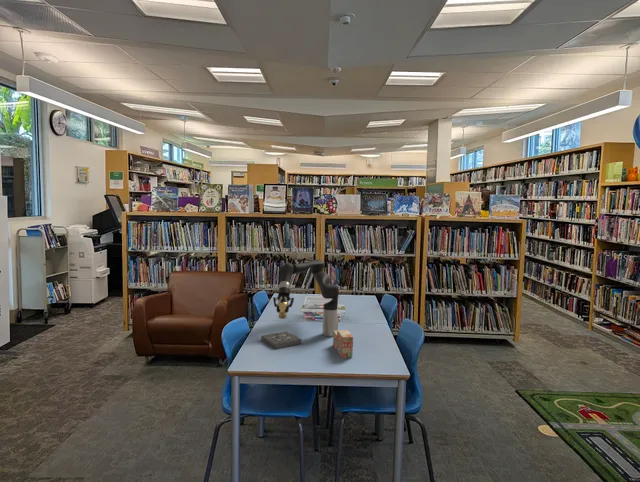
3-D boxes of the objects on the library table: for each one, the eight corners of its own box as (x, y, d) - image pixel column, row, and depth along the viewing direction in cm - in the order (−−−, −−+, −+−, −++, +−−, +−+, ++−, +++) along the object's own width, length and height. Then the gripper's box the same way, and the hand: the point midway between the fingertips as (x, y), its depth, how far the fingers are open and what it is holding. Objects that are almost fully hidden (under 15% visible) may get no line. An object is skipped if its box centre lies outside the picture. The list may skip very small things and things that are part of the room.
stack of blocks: (332, 345, 248) (333, 325, 247) (342, 345, 249) (343, 325, 248) (341, 358, 227) (342, 336, 226) (352, 357, 228) (353, 336, 227)
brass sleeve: (284, 316, 266) (284, 300, 265) (287, 318, 262) (288, 302, 261) (277, 317, 263) (277, 301, 262) (281, 319, 259) (281, 303, 258)
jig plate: (286, 335, 263) (286, 331, 262) (301, 343, 248) (301, 339, 248) (261, 340, 252) (261, 335, 252) (275, 349, 238) (275, 344, 237)
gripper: (295, 292, 274) (293, 315, 263) (274, 292, 274) (271, 314, 263) (295, 286, 268) (293, 309, 257) (273, 286, 268) (270, 308, 258)
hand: (282, 312), depth 260 cm, fingers closed on brass sleeve, 5 cm apart
